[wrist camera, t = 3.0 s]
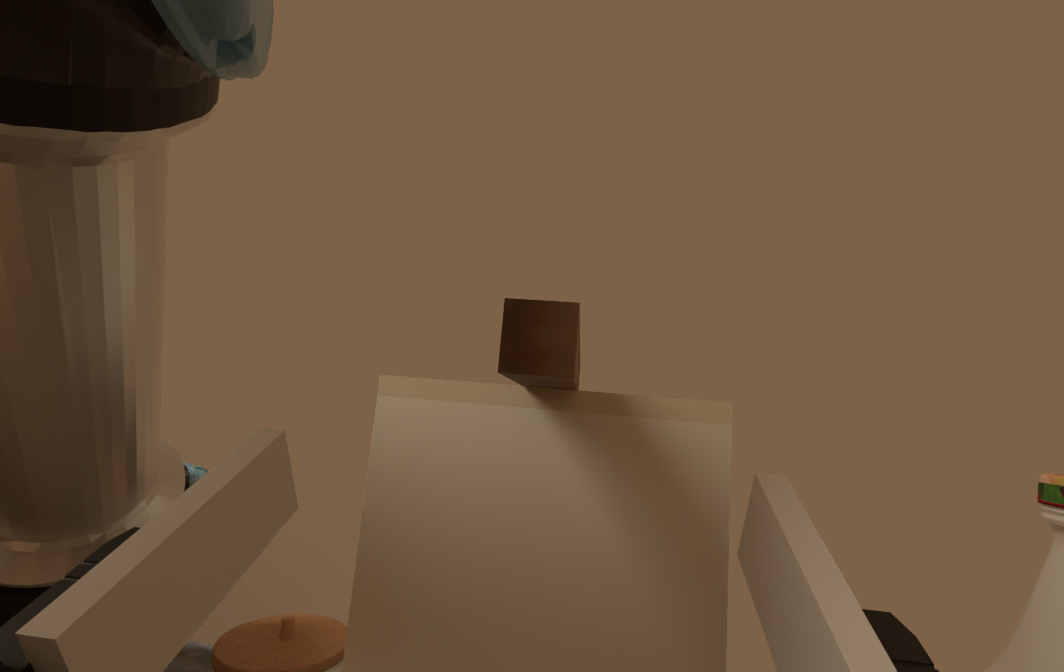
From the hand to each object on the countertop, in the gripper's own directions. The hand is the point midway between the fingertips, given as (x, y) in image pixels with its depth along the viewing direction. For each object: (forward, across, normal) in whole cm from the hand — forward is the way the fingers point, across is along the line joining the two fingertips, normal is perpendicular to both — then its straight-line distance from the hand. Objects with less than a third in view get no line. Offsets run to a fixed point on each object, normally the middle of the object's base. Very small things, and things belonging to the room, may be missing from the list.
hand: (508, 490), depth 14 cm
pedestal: (+6, 0, -34) cm, 34 cm away
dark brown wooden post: (+17, 0, -5) cm, 17 cm away
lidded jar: (+13, -22, -38) cm, 46 cm away
